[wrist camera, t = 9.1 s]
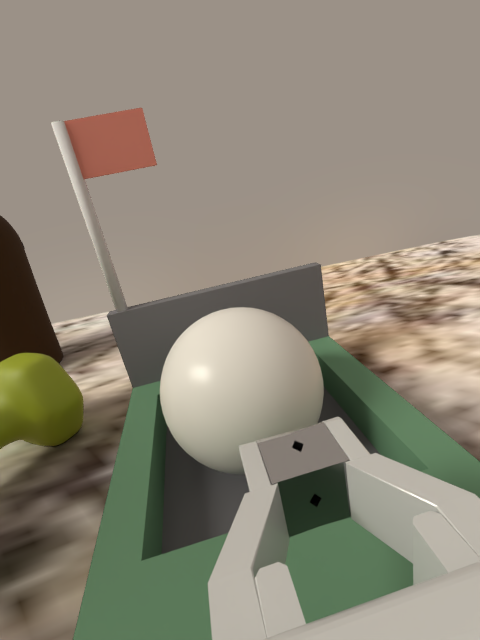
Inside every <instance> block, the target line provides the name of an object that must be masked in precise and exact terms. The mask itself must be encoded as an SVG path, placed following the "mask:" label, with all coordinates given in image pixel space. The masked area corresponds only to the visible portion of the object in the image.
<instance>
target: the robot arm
mask: <svg viewBox="0 0 480 640" xmlns="http://www.w3.org/2000/svg"><path fill="white" fill-rule="evenodd" d="M239 452H240V456H241V460H242V464H243V468H244V472H245V476H246V480H247V484H248V488H249V492H248V493H245V494H244V497H243V499H242V502H241V504H240V506H239V509H238V511H237V514H236V516H235V518H234V521H233V523H232V526H231V528H230V531H229V533H228V535H227V538H226V540H225V543H224V545H223V548H222V550H221V552H220V555H219V557H218V560H217V562H216V564H215V567H214V569H213V572H212V574H211V577H210V579H209V581H208V594H209V607H210V619H211V632H212V640H480V498H479V497H477V496H476V495H475V494H473V493H471V492H468V491H466V490H464V489H461V488H459V487H456V486H454V485H452V484H449V483H447V482H444V481H442V480H440V479H437V478H435V477H432V476H430V475H428V474H425V473H423V472H420V471H418V470H416V469H413V468H411V467H408V466H406V465H404V464H401V463H399V462H396V461H394V460H392V459H389V458H387V457H384V456H382V455H380V454H377V453H374V454H370V453H369V452H368V451H367V449H366V448H365V447H364V446H363V444H362V443H361V442H360V441H359V439H358V438H357V437H356V436H355V434H354V433H353V432H352V431H351V430H350V428H349V427H348V426H347V425H346V423H345V422H344V421H343V420H342V418H340V417H335V418H332V419H328V420H325V421H322V422H320V423H317V424H314V425H310V426H307V427H304V428H300V429H297V430H294V431H290V432H287V433H283V434H279V435H276V436H272V437H268V438H264V439H261V440H257V441H256V442H255V441H254V442H251V443H247V444H243V445H240V446H239ZM350 517H351V519H352V520H354V521H355V522H356V523H358V524H359V525H361V526H362V527H363V528H365V529H366V530H367V531H369V532H370V533H372V534H373V535H374V536H376V537H377V538H378V539H380V540H381V541H383V542H384V543H385V544H387V545H388V546H389V547H391V548H392V549H394V550H395V551H396V552H398V553H399V554H400V555H402V556H403V557H405V558H406V559H407V560H409V561H410V562H411V563H413V585H412V586H409V587H407V588H404V589H401V590H398V591H396V592H393V593H390V594H387V595H385V596H382V597H379V598H376V599H374V600H371V601H368V602H365V603H363V604H360V605H357V606H354V607H351V608H349V609H346V610H343V611H340V612H338V613H335V614H332V615H329V616H327V617H324V618H321V619H318V620H315V621H313V622H310V623H307V624H306V622H305V619H304V616H303V613H302V610H301V607H300V604H299V600H298V597H297V594H296V591H295V588H294V585H293V582H292V579H291V576H290V573H289V570H288V567H287V565H285V562H286V557H287V551H288V546H289V540H290V539H289V537H292V536H295V535H297V534H300V533H303V532H306V531H308V530H311V529H314V528H317V527H319V526H323V525H326V524H329V523H333V522H336V521H340V520H343V519H346V518H350Z"/></svg>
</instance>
